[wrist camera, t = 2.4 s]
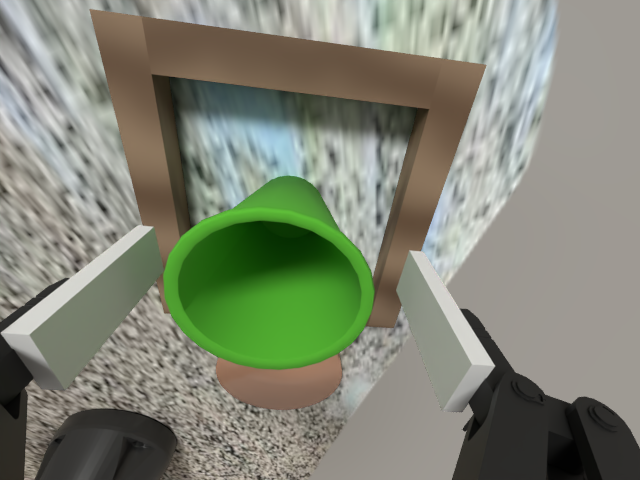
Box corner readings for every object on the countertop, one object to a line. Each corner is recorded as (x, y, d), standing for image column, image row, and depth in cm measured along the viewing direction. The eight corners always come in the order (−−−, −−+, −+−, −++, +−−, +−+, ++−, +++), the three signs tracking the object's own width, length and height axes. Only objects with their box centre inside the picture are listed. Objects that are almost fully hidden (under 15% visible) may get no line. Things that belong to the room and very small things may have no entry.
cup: (351, 248, 23) (377, 361, 13) (249, 260, 23) (204, 378, 14) (342, 139, 19) (373, 193, 9) (216, 156, 19) (117, 226, 9)
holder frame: (388, 312, 27) (393, 328, 25) (174, 297, 25) (164, 313, 24) (468, 67, 17) (486, 64, 15) (115, 18, 15) (89, 9, 13)
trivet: (332, 402, 35) (333, 412, 34) (223, 397, 34) (220, 407, 33) (350, 327, 28) (351, 336, 27) (214, 318, 27) (210, 328, 26)
